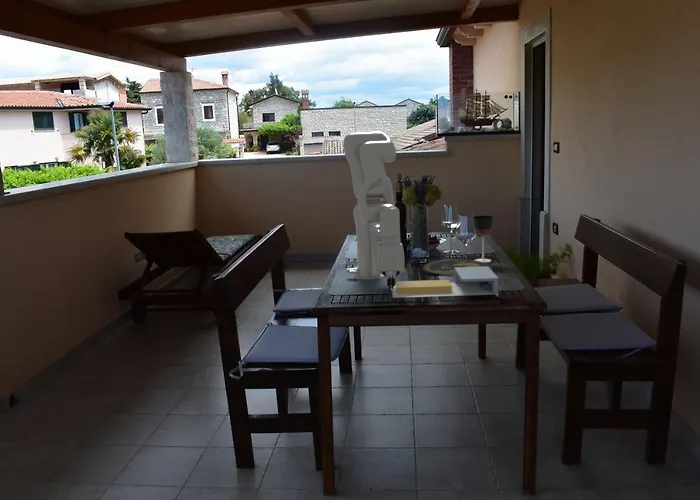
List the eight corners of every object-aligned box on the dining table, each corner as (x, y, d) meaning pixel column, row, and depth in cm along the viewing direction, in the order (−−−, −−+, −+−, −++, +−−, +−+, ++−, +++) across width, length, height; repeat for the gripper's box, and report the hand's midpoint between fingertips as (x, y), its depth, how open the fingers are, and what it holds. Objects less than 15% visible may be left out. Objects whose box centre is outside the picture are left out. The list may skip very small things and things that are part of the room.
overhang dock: (393, 300, 220) (392, 281, 219) (390, 287, 238) (390, 269, 237) (498, 296, 220) (498, 278, 218) (487, 283, 237) (488, 266, 236)
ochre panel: (397, 294, 225) (397, 287, 224) (396, 287, 233) (396, 281, 233) (451, 292, 224) (451, 285, 224) (448, 285, 233) (448, 279, 232)
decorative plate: (419, 274, 249) (425, 258, 278) (419, 279, 250) (425, 262, 278) (494, 276, 243) (492, 259, 272) (494, 280, 244) (492, 263, 272)
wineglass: (493, 262, 272) (493, 218, 268) (473, 262, 273) (473, 218, 269) (492, 258, 279) (492, 215, 275) (472, 258, 281) (473, 215, 277)
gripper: (369, 243, 222) (371, 291, 225) (410, 241, 221) (411, 290, 225) (369, 239, 229) (371, 286, 233) (409, 237, 228) (410, 284, 232)
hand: (391, 288), depth 229 cm, fingers closed
